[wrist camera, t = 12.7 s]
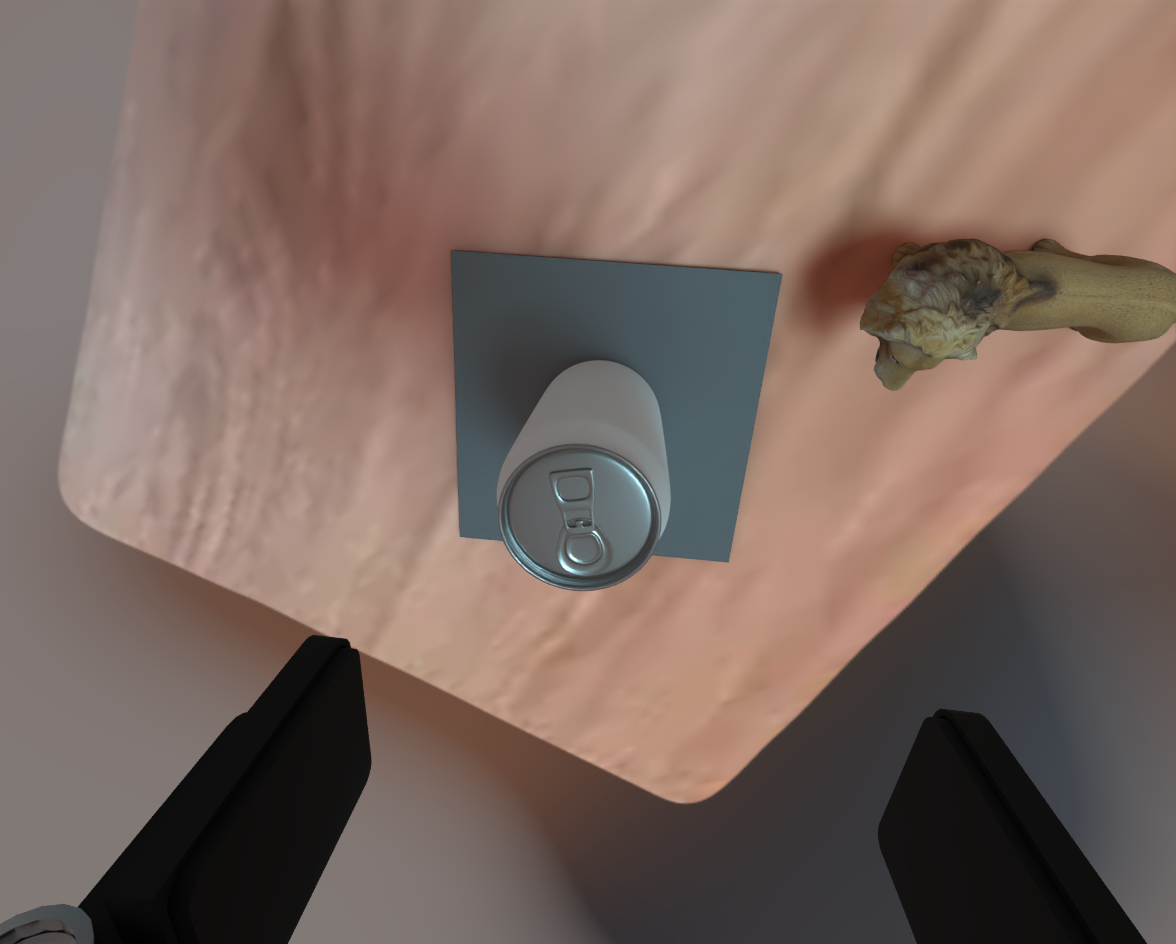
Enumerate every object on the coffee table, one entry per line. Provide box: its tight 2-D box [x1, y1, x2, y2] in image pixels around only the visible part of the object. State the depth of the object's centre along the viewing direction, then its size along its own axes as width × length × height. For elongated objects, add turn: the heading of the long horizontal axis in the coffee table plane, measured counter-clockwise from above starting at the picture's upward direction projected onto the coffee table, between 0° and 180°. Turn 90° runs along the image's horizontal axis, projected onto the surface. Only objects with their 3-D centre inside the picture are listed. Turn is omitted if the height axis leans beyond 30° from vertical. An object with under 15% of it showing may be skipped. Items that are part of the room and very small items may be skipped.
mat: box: [451, 251, 782, 562], centre depth 30 cm, size 16×16×1 cm
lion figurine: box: [860, 239, 1176, 391], centre depth 23 cm, size 15×5×9 cm, turn 97°
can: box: [497, 360, 671, 591], centre depth 25 cm, size 6×6×12 cm
